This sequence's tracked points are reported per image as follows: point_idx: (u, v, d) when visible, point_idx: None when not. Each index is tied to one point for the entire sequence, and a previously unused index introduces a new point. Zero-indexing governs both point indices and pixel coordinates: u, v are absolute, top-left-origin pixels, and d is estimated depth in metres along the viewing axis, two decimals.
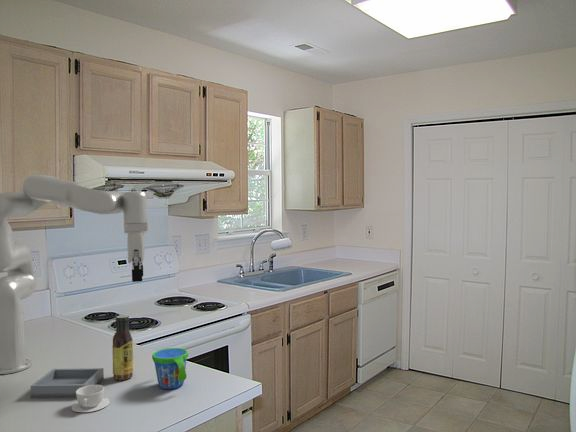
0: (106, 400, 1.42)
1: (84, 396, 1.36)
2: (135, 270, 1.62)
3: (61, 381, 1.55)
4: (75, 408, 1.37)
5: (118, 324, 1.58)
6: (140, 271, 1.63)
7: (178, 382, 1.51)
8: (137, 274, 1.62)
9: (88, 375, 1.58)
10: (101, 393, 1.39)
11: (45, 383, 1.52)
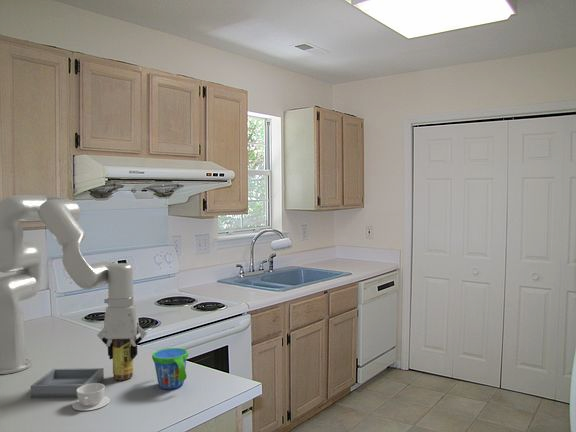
0: (107, 398, 1.43)
1: (85, 394, 1.37)
2: (136, 346, 1.59)
3: (61, 381, 1.55)
4: (76, 407, 1.38)
5: None
6: None
7: (178, 382, 1.51)
8: (136, 349, 1.60)
9: (88, 375, 1.58)
10: (101, 391, 1.40)
11: (45, 383, 1.52)
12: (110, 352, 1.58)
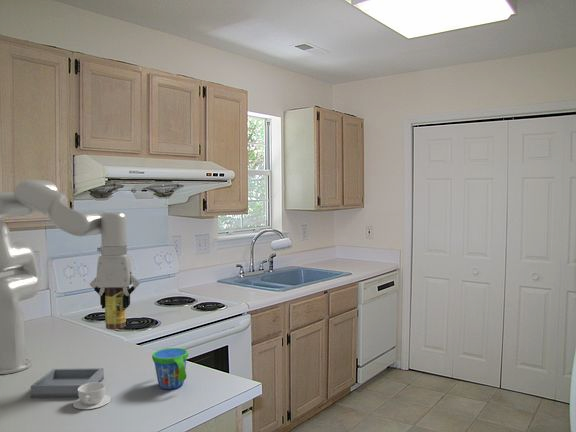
0: (107, 397, 1.44)
1: (86, 393, 1.38)
2: (128, 295, 1.58)
3: (61, 381, 1.55)
4: (77, 405, 1.39)
5: None
6: None
7: (178, 382, 1.51)
8: (129, 299, 1.58)
9: (88, 375, 1.58)
10: (102, 390, 1.40)
11: (45, 383, 1.52)
12: (102, 301, 1.57)
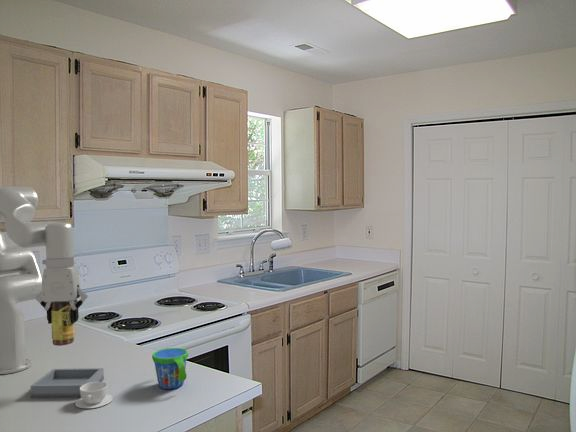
0: (109, 396, 1.45)
1: (88, 392, 1.38)
2: (76, 309, 1.51)
3: (61, 381, 1.55)
4: (79, 405, 1.39)
5: None
6: None
7: (178, 382, 1.51)
8: (77, 313, 1.51)
9: (88, 375, 1.58)
10: (104, 389, 1.41)
11: (45, 383, 1.52)
12: (49, 316, 1.50)
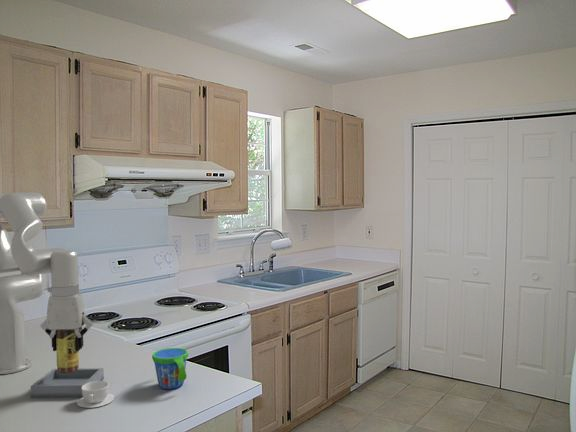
0: (111, 396, 1.45)
1: (90, 392, 1.39)
2: (81, 337, 1.51)
3: (61, 381, 1.55)
4: (81, 404, 1.40)
5: None
6: None
7: (178, 382, 1.51)
8: (82, 341, 1.52)
9: (88, 375, 1.58)
10: (106, 389, 1.42)
11: (45, 383, 1.52)
12: (54, 344, 1.50)
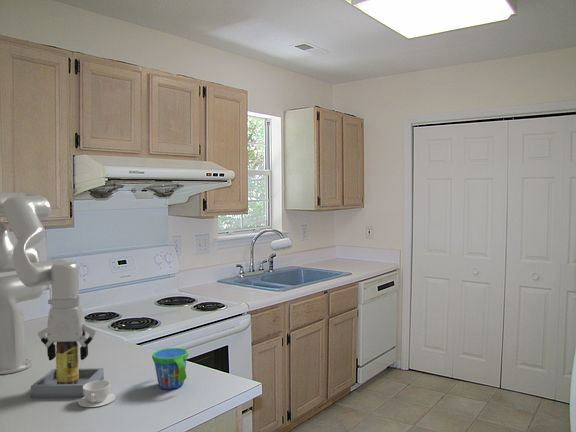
0: (112, 395, 1.46)
1: (91, 391, 1.39)
2: (86, 346, 1.51)
3: None
4: (82, 404, 1.40)
5: None
6: None
7: (178, 382, 1.51)
8: (87, 350, 1.52)
9: (88, 375, 1.58)
10: (107, 388, 1.42)
11: (45, 383, 1.52)
12: (49, 353, 1.50)
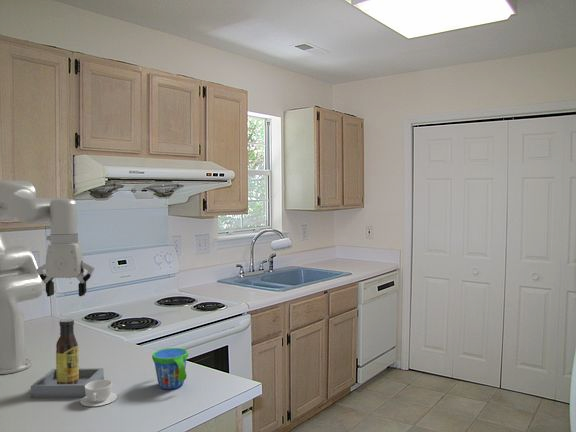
0: (114, 394, 1.46)
1: (93, 390, 1.40)
2: (84, 283, 1.51)
3: None
4: (84, 403, 1.41)
5: (62, 328, 1.50)
6: None
7: (178, 382, 1.51)
8: (85, 287, 1.52)
9: (88, 375, 1.58)
10: (109, 388, 1.42)
11: (45, 383, 1.52)
12: (48, 289, 1.50)
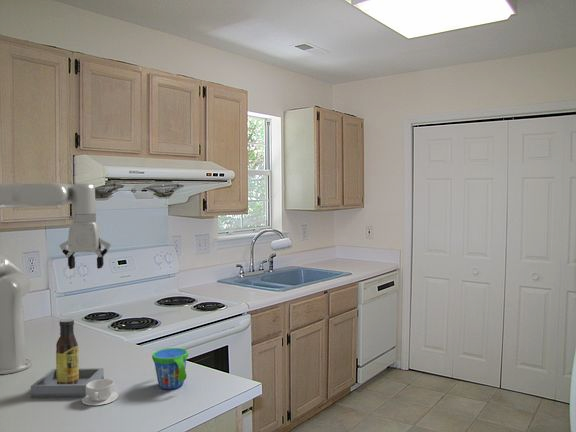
0: (115, 394, 1.47)
1: (95, 390, 1.40)
2: (102, 257, 1.73)
3: None
4: (86, 402, 1.41)
5: (62, 328, 1.50)
6: None
7: (178, 382, 1.51)
8: (102, 260, 1.74)
9: (88, 375, 1.58)
10: (111, 387, 1.43)
11: (45, 383, 1.52)
12: (70, 262, 1.72)
